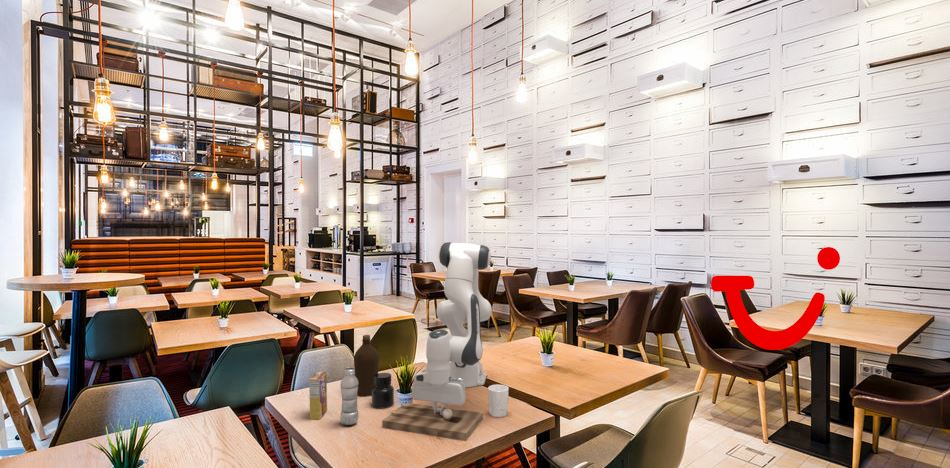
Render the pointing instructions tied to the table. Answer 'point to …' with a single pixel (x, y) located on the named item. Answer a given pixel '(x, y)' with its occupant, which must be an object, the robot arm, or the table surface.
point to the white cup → (498, 400)
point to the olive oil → (366, 366)
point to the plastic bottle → (349, 397)
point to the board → (433, 421)
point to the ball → (447, 413)
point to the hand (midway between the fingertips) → (438, 413)
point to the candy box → (318, 395)
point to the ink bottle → (382, 391)
